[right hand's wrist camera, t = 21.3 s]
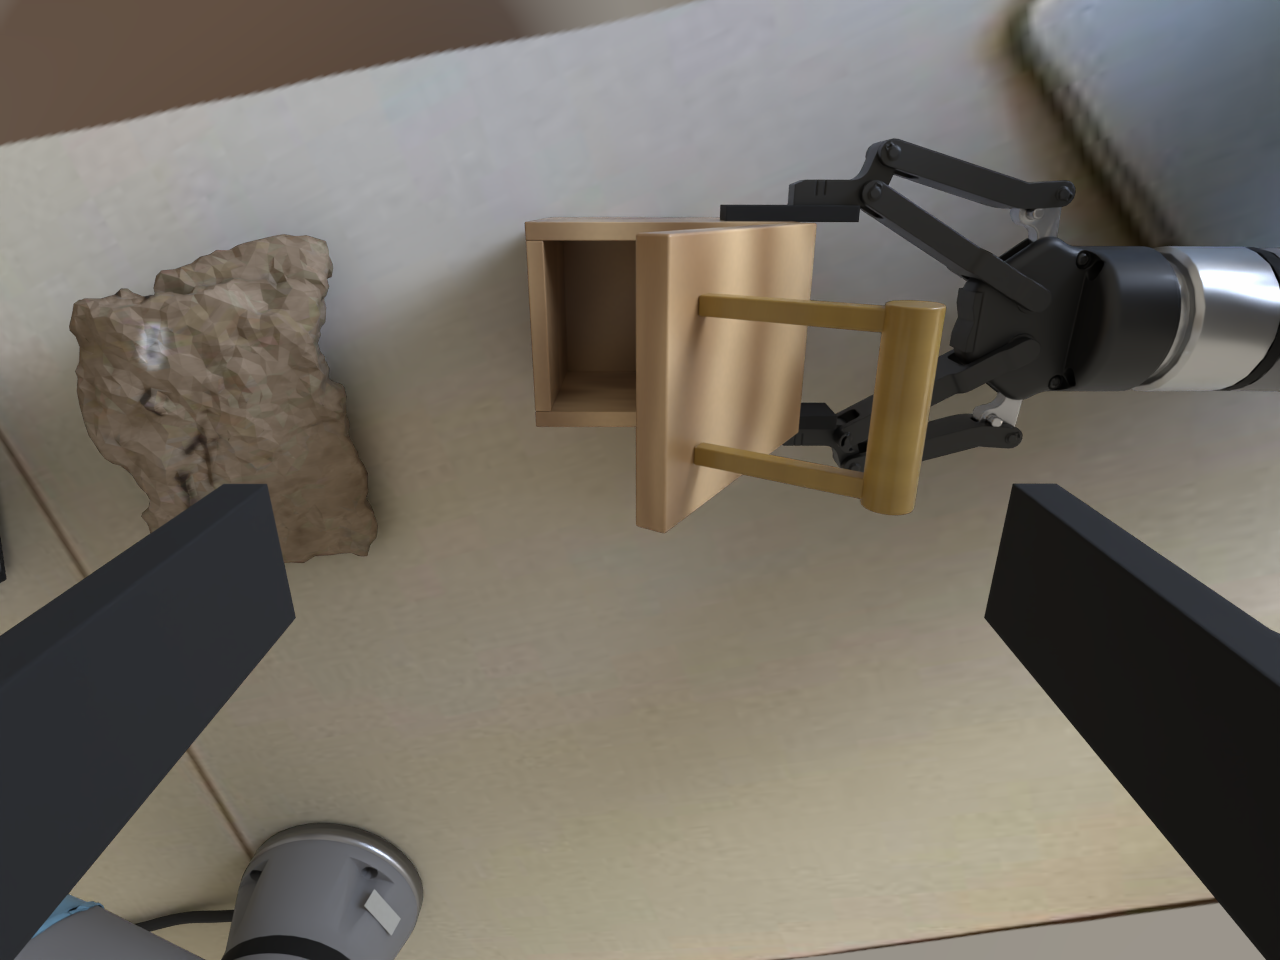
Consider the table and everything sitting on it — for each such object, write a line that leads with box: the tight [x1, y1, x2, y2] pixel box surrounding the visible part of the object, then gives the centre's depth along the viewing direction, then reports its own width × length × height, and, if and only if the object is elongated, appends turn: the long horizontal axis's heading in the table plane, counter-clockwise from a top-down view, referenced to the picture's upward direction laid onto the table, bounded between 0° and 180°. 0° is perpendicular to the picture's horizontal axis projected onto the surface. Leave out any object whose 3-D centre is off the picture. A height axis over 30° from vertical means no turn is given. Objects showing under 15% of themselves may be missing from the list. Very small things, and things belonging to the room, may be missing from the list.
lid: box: [636, 223, 946, 533], centre depth 27 cm, size 14×10×9 cm
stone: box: [69, 234, 378, 563], centre depth 43 cm, size 21×15×6 cm
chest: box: [525, 217, 800, 427], centre depth 39 cm, size 13×10×10 cm
